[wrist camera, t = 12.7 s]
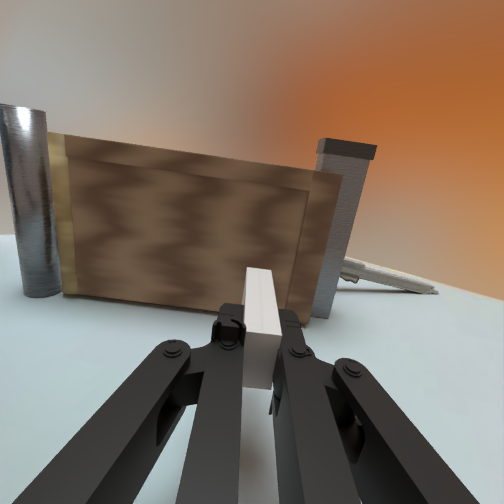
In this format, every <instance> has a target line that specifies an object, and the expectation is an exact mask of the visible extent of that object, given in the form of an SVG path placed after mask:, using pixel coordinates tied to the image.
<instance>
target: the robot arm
mask: <svg viewBox="0 0 504 504" xmlns="http://www.w3.org/2000/svg"><path fill="white" fill-rule="evenodd" d="M272 382H273V388H274V390H273V395H272V400H271V405H270V410H269V415H271V414H272V412H273V425H274V438H275V451H276V465H277V478H278V491H279V504H361V502H362V504H480V503H479V502H478V501H477V500H476V499H475V497H474V496H473V495H472V494H471V493H470V491H469V490H468V489H467V488H466V487H465V485H464V484H463V483H462V482H461V481H460V479H459V478H458V477H457V476H456V475H455V474H454V472H453V471H452V470H451V469H450V468H449V466H448V465H447V464H446V463H445V462H444V460H443V459H442V458H441V457H440V456H439V454H438V453H437V452H436V451H435V450H434V448H433V447H432V446H431V445H430V444H429V442H428V441H427V440H426V439H425V438H424V436H423V435H422V434H421V433H420V432H419V430H418V429H417V428H416V427H415V426H414V424H413V423H412V422H411V421H410V420H409V418H408V417H407V416H406V415H405V414H404V412H403V411H402V410H401V409H400V408H399V406H398V405H397V404H396V403H395V402H394V400H393V399H392V398H391V397H390V396H389V394H388V393H387V392H386V391H385V390H384V389H383V387H382V386H381V385H380V384H379V383H378V381H377V380H376V379H375V378H374V377H373V375H372V374H371V373H370V372H369V371H368V369H367V368H366V367H365V366H363V365H362V364H361V363H359V362H357V361H355V360H352V359H349V358H341V359H338V360H337V361H336V362H335V365H332V364H329V363H326V362H324V361H321V360H319V359H317V358H316V357H315V354H314V352H313V351H312V349H311V348H310V347H308V346H307V345H306V343H305V339H304V336H303V332H302V329H301V325H300V322H299V318H298V316H297V315H296V314H295V312H294V311H293V310H287V309H279V308H277V302H276V296H275V290H274V284H273V278H272V272H271V270H266V269H258V268H250V267H247V271H246V278H245V285H244V292H243V299H242V305H240V304H232V303H224V304H223V305H222V306H221V307H220V309H219V313H218V318H217V320H216V321H215V322H214V323H213V327H212V336H211V342H210V343H209V344H207V345H206V346H203V347H200V348H193V349H190V346H189V345H188V344H187V343H186V342H184V341H181V340H175V339H174V340H167V341H164V342H162V343H160V344H159V345H158V346H156V347H155V349H154V350H153V351H152V352H151V353H150V354H149V355H148V356H147V357H146V358H145V359H144V360H143V362H142V363H141V364H140V365H139V366H138V367H137V368H136V369H135V370H134V371H133V372H132V374H131V375H130V376H129V377H128V378H127V379H126V380H125V381H124V382H123V383H122V384H121V385H120V387H119V388H118V389H117V390H116V391H115V392H114V393H113V394H112V395H111V396H110V397H109V399H108V400H107V401H106V402H105V403H104V404H103V405H102V406H101V407H100V408H99V409H98V410H97V412H96V413H95V414H94V415H93V416H92V417H91V418H90V419H89V420H88V421H87V422H86V424H85V425H84V426H83V427H82V428H81V429H80V430H79V431H78V432H77V433H76V434H75V435H74V437H73V438H72V439H71V440H70V441H69V442H68V443H67V444H66V445H65V446H64V447H63V448H62V450H61V451H60V452H59V453H58V454H57V455H56V456H55V457H54V458H53V459H52V460H51V462H50V463H49V464H48V465H47V466H46V467H45V468H44V469H43V470H42V471H41V472H40V473H39V475H38V476H37V477H36V478H35V479H34V480H33V481H32V482H31V483H30V484H29V485H28V487H27V488H26V489H25V490H24V491H23V492H22V493H21V494H20V495H19V496H18V497H17V498H16V500H15V501H14V502H13V503H12V504H133V502H134V500H135V498H136V497H137V495H138V493H139V491H140V490H141V488H142V486H143V484H144V482H145V481H146V479H147V477H148V475H149V473H150V472H151V470H152V468H153V466H154V465H155V463H156V461H157V459H158V457H159V456H160V454H161V452H162V450H163V449H164V447H165V445H166V443H167V441H168V440H169V438H170V436H171V434H172V432H173V431H174V429H175V427H176V425H177V424H178V422H179V420H180V418H181V416H182V415H183V413H184V411H185V409H186V406H188V405H193V404H197V408H196V412H195V417H194V421H193V426H192V430H191V435H190V439H189V444H188V449H187V453H186V458H185V462H184V467H183V471H182V476H181V480H180V485H179V489H178V494H177V499H176V503H175V504H238V481H239V456H240V432H241V407H242V387H250V388H259V389H268V390H271V387H272ZM360 500H361V502H360Z"/></svg>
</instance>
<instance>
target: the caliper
mask: <svg viewBox="0 0 504 504" xmlns="http://www.w3.org/2000/svg"><path fill="white" fill-rule="evenodd" d="M340 277H341V278H342V279H344V280H345V281H351V282H353V283H357V282H358V280H359V278H360V279H364V280H368V281H372V282H376V283H381V284H385V285H389V286H393V287H397V288H401V289H405V290H408V291H412V292H416V293H420V294H431V293H434V294H439V293H438V291H436V290H435V289H434V286H432V285H430V284H428V283H424V282H420V281H416V280H413V279H409V278H405V277H402V276H398V275H394V274H390V273H386V272H383V271H379V270H375V269H371V268H367V267H365V265H364V264H362V263H361V262H357V261H354V260H350V259H347V258H344V261H343V265H342V269H341V272H340Z"/></svg>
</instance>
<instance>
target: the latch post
mask: <svg viewBox="0 0 504 504" xmlns="http://www.w3.org/2000/svg"><path fill="white" fill-rule="evenodd" d="M376 148H377V145H371V144H365V143H358V142H351V141H344V140H338V139H331V138H323V139H320V140H319V142H318V146H317V151H316V153H317V154H318V160H317V164H316V169H315V170H316V171H323V172H329V173H336V174H341V175H343V178H342V182H341V187H340V191H339V195H338V199H337V204H336V208H335V212H334V216H333V220H332V225H331V229H330V233H329V237H328V242H327V246H326V250H325V254H324V258H323V263H322V267H321V271H320V275H319V280H318V284H317V288H316V292H315V296H314V301H313V305H312V309H311V313H310V316H311V317H319V318H327V319H328V318H329V314H330V310H331V307H332V303H333V299H334V295H335V291H336V288H337V284H338V280H339V276H340V272H341V269H342V265H343V261H344V257H345V253H346V249H347V246H348V242H349V238H350V234H351V230H352V226H353V223H354V219H355V215H356V212H357V207H358V204H359V200H360V196H361V192H362V189H363V185H364V181H365V177H366V174H367V169H368V166H369V162H370V160H373V159H374V156H375V152H376Z"/></svg>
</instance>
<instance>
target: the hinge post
mask: <svg viewBox="0 0 504 504" xmlns="http://www.w3.org/2000/svg"><path fill="white" fill-rule="evenodd" d="M0 135H1V142H2V149H3V156H4V162H5V169H6V175H7V182H8V189H9V196H10V202H11V209H12V215H13V222H14V229H15V236H16V243H17V249H18V256H19V263H20V270H21V276H22V283H23V290H24V294H25V295H26V296H28V297H33V298H41V297H48V296H52V295H55V294H57V293H59V292H60V291H61V290H62V283H61V273H60V263H59V252H58V242H57V232H56V222H55V212H54V202H53V191H52V181H51V171H50V161H49V151H48V140H47V122H46V112H44V111H40V110H35V109H29V108H24V107H18V106H12V105H6V104H0Z"/></svg>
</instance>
